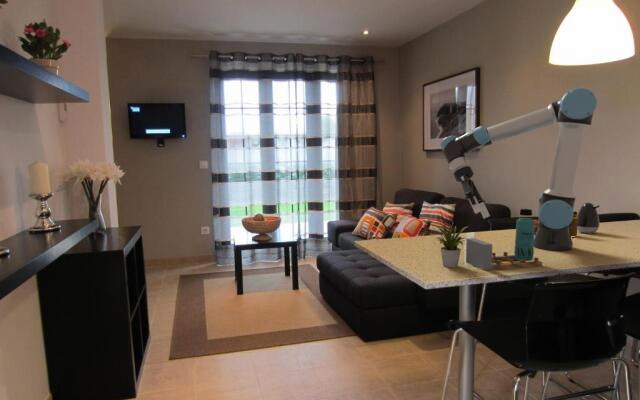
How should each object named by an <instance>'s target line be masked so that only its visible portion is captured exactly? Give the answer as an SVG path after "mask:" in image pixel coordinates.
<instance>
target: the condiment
mask: <svg viewBox="0 0 640 400" xmlns="http://www.w3.org/2000/svg"><path fill="white" fill-rule="evenodd" d="M577 215H578V211H574V210H573V219H572V221H571V222H570V223H569V232H570V236H577V235H578V229H577V226H578V217H577Z"/></svg>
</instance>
